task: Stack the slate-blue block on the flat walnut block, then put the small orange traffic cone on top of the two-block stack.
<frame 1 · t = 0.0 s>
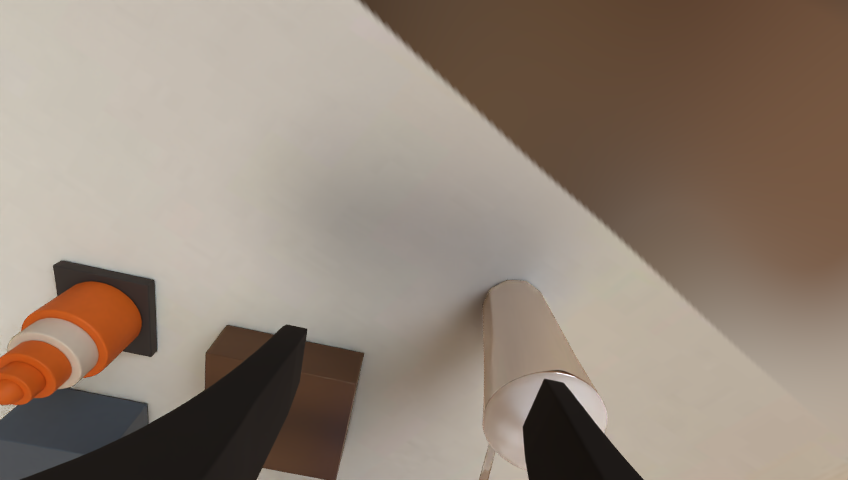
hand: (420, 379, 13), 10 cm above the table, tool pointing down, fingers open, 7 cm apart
cone: (111, 307, 25), on the table
milkshake: (505, 306, 24), on the table
base block: (289, 390, 27), on the table
blue block: (98, 421, 28), on the table
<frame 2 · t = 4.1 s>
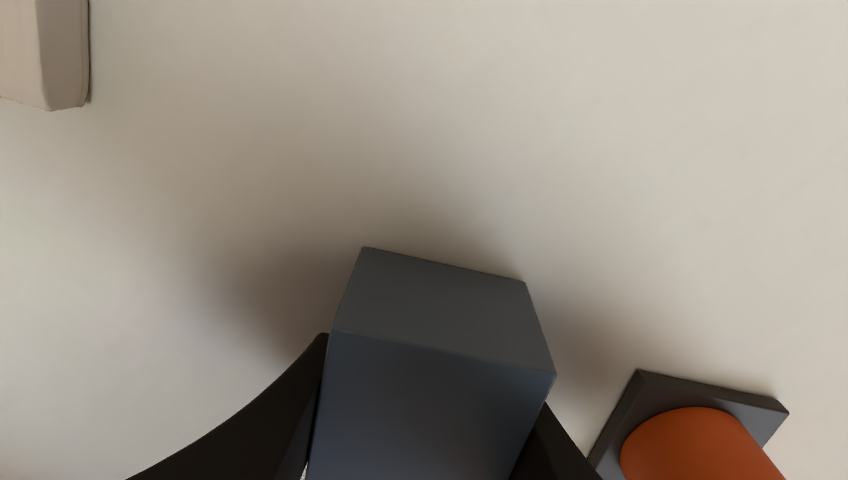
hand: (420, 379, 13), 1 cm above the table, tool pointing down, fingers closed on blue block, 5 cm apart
cone: (673, 436, 15), on the table
blue block: (420, 349, 14), on the table, touching gripper
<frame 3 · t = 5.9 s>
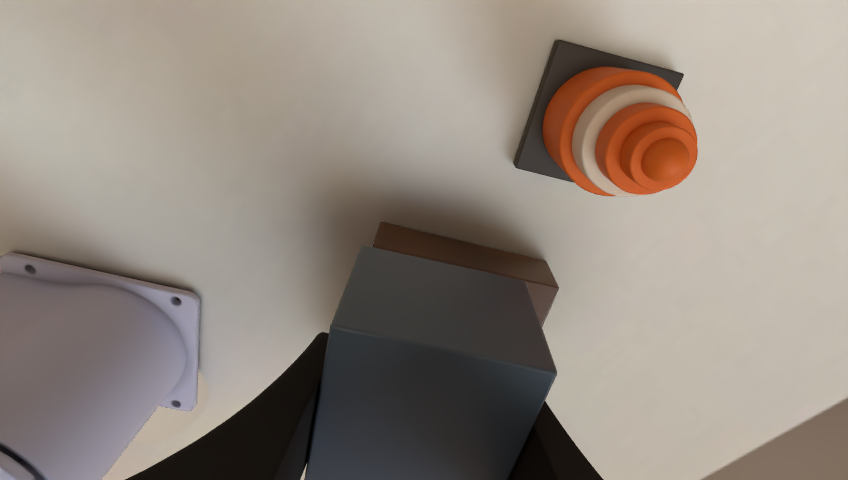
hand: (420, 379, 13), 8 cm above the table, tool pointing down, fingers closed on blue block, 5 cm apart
cone: (591, 120, 18), on the table
base block: (442, 310, 22), on the table
blue block: (420, 347, 14), point 7 cm above the table, touching gripper
when the fingers open (4 cm above the table, at t = 7.8 s): blue block stays where it is, resting on base block.
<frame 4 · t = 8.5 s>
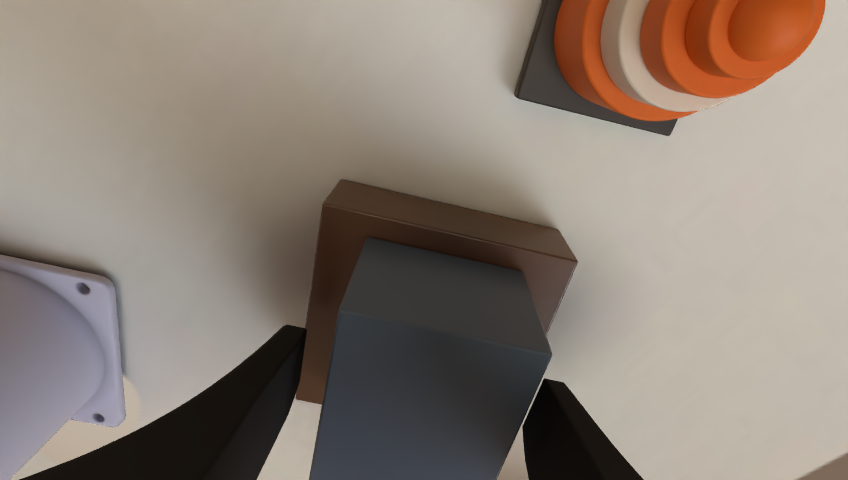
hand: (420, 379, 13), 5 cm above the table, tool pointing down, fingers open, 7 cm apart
cone: (620, 30, 13), on the table
base block: (425, 297, 17), on the table, touching blue block
blue block: (422, 336, 15), point 2 cm above the table, touching base block
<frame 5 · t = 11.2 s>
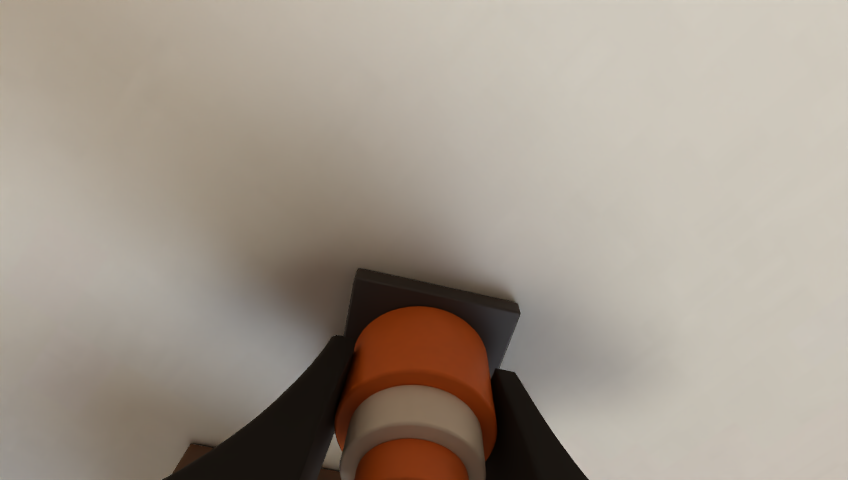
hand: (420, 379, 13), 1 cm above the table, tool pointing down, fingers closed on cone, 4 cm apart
cone: (420, 349, 14), on the table, touching gripper
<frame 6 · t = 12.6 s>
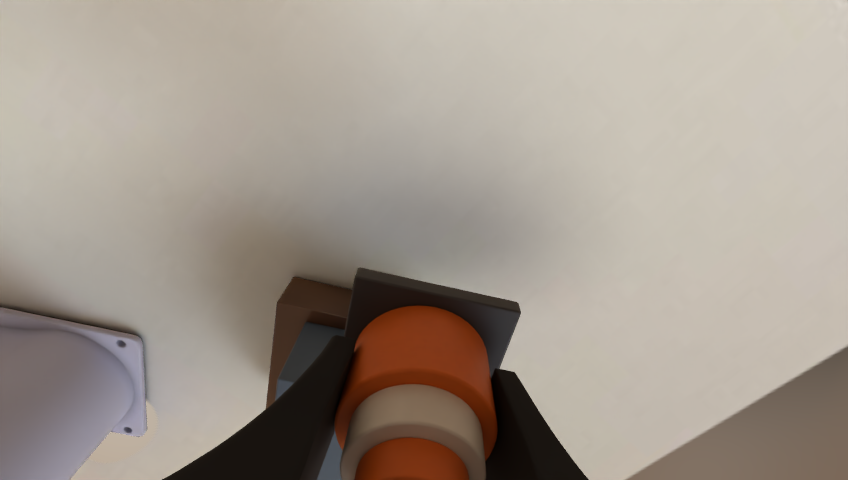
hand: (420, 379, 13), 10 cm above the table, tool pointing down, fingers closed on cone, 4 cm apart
cone: (421, 348, 14), point 8 cm above the table, touching gripper
base block: (355, 350, 25), on the table, touching blue block
blue block: (345, 381, 23), point 2 cm above the table, touching base block
when the fingers open (8 cm above the table, at t = 14.4 s): cone stays where it is, resting on blue block.
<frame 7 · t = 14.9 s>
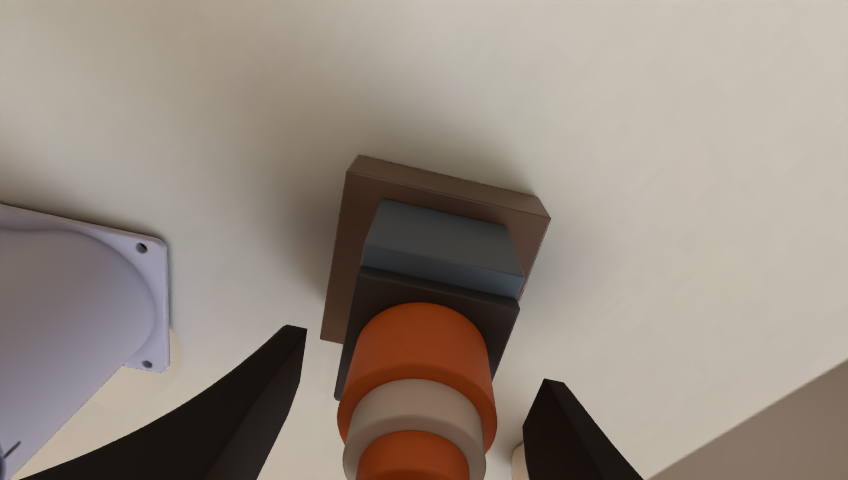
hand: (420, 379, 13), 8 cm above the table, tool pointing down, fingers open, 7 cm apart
cone: (421, 344, 14), point 7 cm above the table, touching blue block
milkshake: (534, 450, 26), on the table
base block: (428, 256, 20), on the table, touching blue block
blue block: (426, 283, 18), point 3 cm above the table, touching base block, cone
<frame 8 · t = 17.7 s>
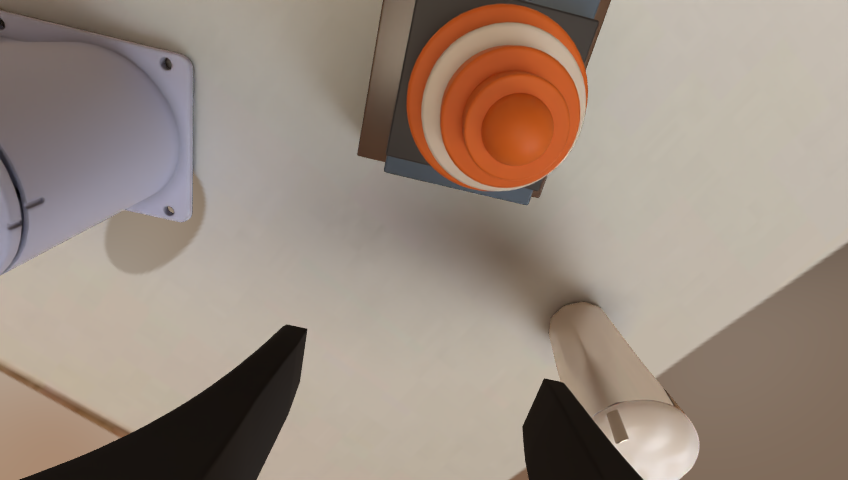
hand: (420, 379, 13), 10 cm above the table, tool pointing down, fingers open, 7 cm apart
cone: (483, 90, 13), point 7 cm above the table, touching blue block
milkshake: (573, 318, 24), on the table
base block: (471, 75, 19), on the table, touching blue block
blue block: (474, 79, 17), point 3 cm above the table, touching base block, cone
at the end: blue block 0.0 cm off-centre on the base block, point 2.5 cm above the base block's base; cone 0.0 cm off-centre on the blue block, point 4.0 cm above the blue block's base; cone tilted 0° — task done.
